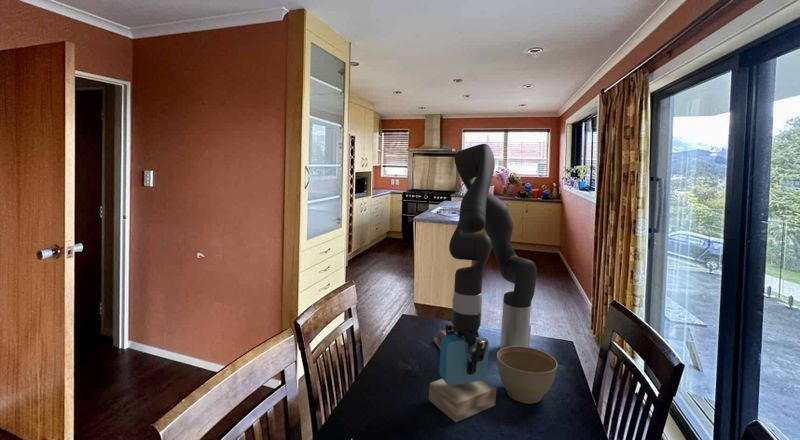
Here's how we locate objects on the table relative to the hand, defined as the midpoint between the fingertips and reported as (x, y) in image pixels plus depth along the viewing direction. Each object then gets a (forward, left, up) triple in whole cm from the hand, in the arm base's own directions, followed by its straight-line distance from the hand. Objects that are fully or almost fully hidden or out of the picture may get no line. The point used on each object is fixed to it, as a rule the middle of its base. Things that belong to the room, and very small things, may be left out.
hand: (463, 368), depth 106 cm
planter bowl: (-18, +6, -10) cm, 22 cm away
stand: (0, 0, -10) cm, 10 cm away
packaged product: (-19, -24, -10) cm, 32 cm away
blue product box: (0, 0, -3) cm, 3 cm away
